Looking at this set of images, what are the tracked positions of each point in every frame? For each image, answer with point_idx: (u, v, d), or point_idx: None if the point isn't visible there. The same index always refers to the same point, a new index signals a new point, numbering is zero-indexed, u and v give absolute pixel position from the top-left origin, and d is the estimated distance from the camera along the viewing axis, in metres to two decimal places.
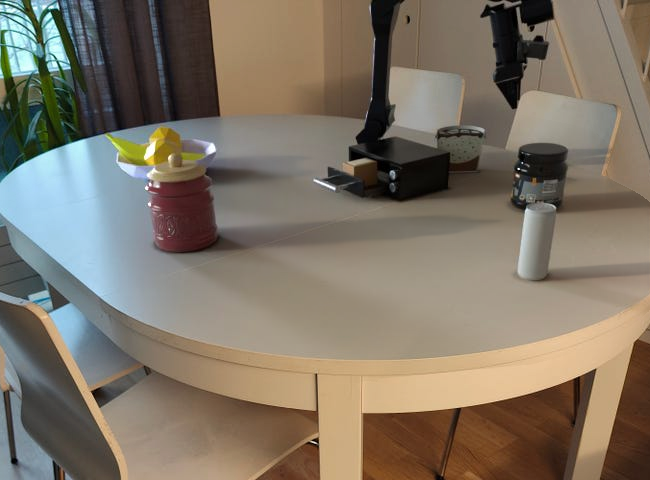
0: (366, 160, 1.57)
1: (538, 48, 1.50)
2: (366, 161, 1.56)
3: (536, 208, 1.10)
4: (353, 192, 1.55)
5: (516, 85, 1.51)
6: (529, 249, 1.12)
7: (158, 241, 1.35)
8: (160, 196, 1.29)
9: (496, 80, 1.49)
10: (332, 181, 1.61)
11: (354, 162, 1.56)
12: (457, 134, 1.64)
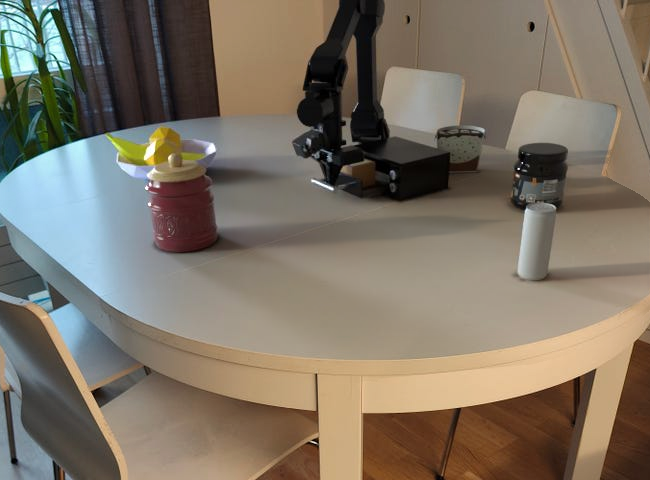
0: (364, 160, 1.57)
1: None
2: (364, 161, 1.56)
3: (536, 208, 1.10)
4: (351, 192, 1.55)
5: None
6: (529, 249, 1.12)
7: (158, 241, 1.35)
8: (160, 196, 1.29)
9: None
10: None
11: None
12: (457, 134, 1.64)
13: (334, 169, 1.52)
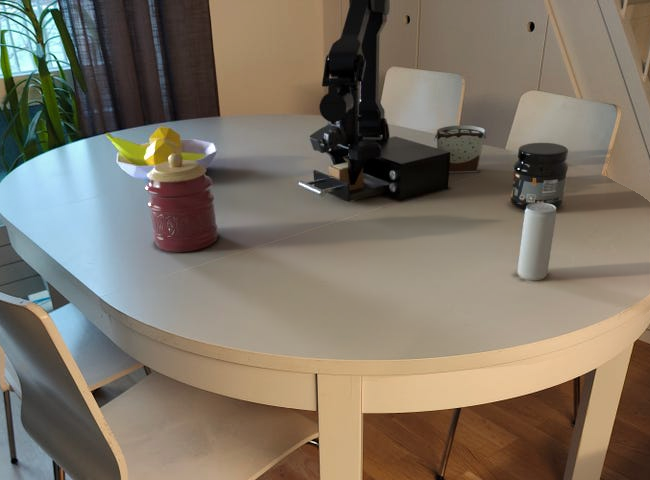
0: None
1: None
2: None
3: (536, 208, 1.10)
4: (338, 196, 1.53)
5: None
6: (529, 249, 1.12)
7: (158, 241, 1.35)
8: (160, 196, 1.29)
9: None
10: (318, 184, 1.59)
11: (340, 165, 1.54)
12: (457, 134, 1.64)
13: (356, 166, 1.52)
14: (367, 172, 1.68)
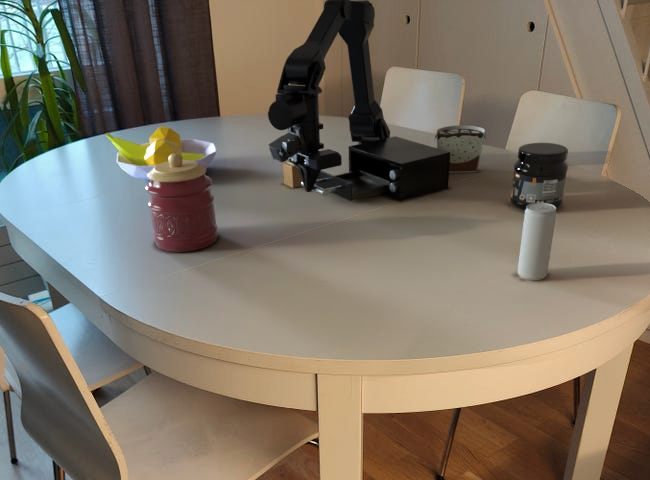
0: None
1: None
2: None
3: (536, 208, 1.10)
4: (341, 195, 1.53)
5: None
6: (529, 249, 1.12)
7: (158, 241, 1.35)
8: (160, 196, 1.29)
9: None
10: (320, 184, 1.60)
11: None
12: (457, 134, 1.64)
13: (312, 173, 1.50)
14: None
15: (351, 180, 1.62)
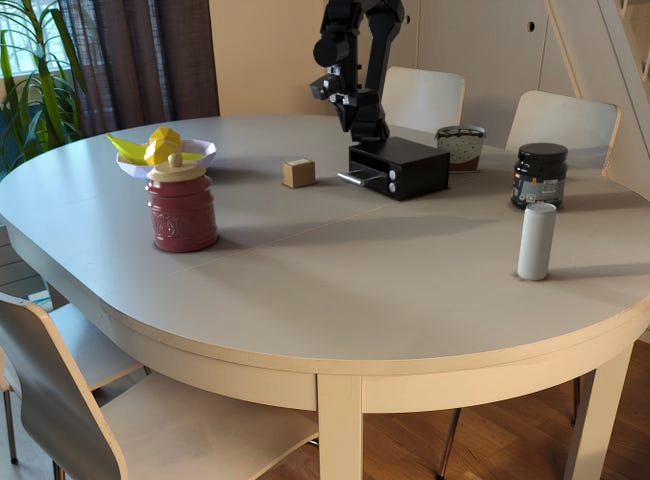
0: (305, 160, 1.66)
1: None
2: (304, 161, 1.65)
3: (536, 208, 1.10)
4: (377, 186, 1.58)
5: None
6: (529, 249, 1.12)
7: (158, 241, 1.35)
8: (160, 196, 1.29)
9: None
10: (356, 175, 1.64)
11: (293, 162, 1.65)
12: (457, 134, 1.64)
13: (350, 113, 1.57)
14: None
15: (385, 172, 1.66)
